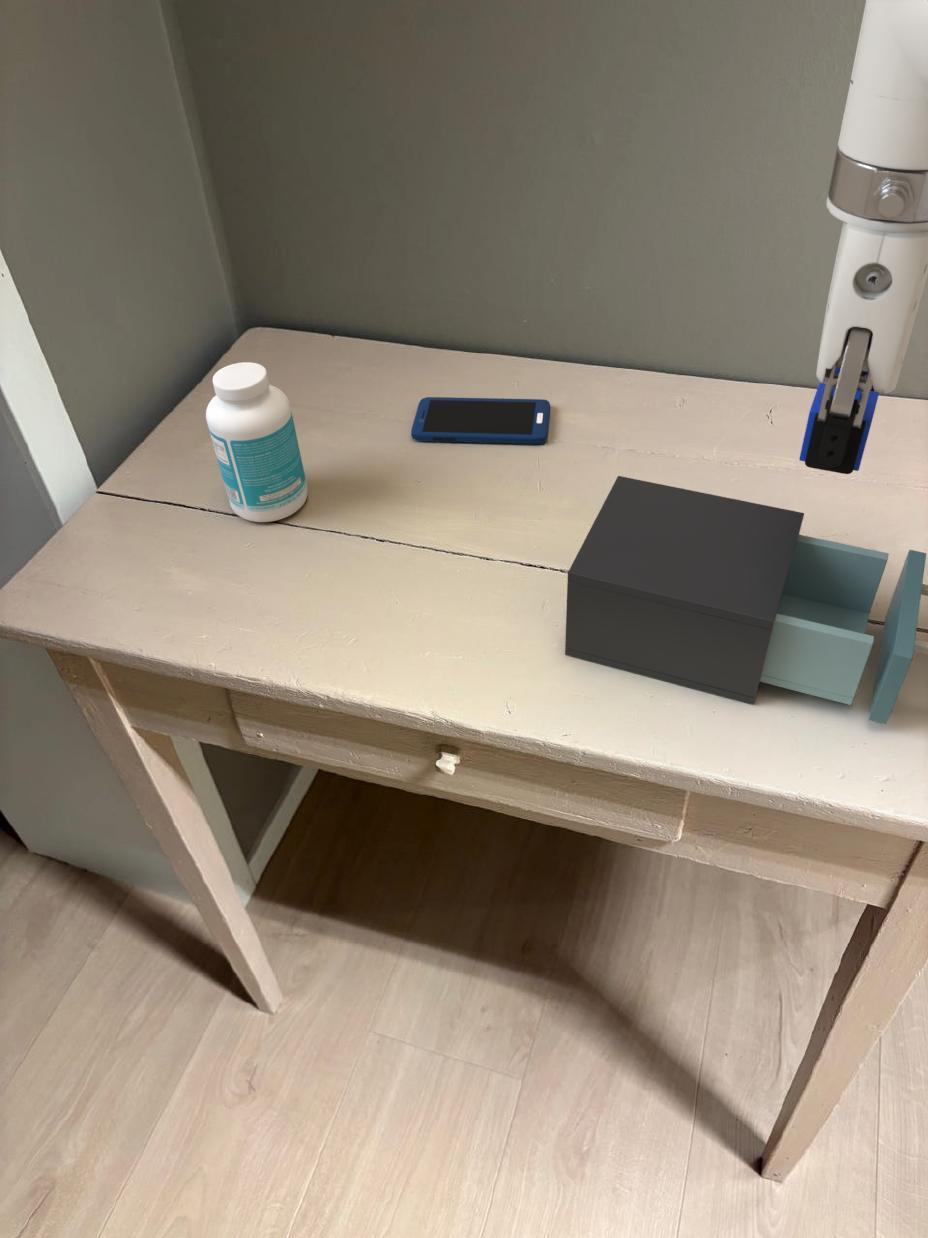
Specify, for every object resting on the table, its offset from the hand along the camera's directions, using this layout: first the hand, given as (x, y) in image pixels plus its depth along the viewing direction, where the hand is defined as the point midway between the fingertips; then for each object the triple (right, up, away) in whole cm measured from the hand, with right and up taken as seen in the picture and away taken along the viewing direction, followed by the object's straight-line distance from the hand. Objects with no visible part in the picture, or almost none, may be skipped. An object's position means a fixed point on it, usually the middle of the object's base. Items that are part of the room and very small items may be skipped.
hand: (834, 447), depth 68 cm
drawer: (+2, -15, +5) cm, 16 cm away
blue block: (0, 0, 0) cm, 0 cm away
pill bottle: (-45, -1, +24) cm, 51 cm away
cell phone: (-24, +8, +31) cm, 41 cm away
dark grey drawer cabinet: (-9, -13, +9) cm, 18 cm away
